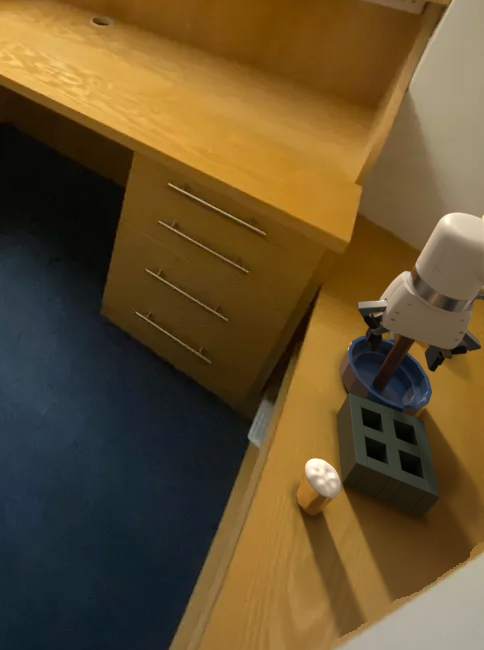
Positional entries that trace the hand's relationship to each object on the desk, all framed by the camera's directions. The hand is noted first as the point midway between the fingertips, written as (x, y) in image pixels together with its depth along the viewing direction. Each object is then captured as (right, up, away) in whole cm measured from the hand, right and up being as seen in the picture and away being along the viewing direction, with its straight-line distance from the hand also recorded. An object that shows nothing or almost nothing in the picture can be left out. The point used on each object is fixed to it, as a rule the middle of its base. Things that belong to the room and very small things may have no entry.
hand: (399, 352), depth 84 cm
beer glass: (-20, -18, -9) cm, 28 cm away
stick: (0, -9, +5) cm, 10 cm away
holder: (-7, -15, -4) cm, 17 cm away
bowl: (0, -9, +5) cm, 11 cm away
